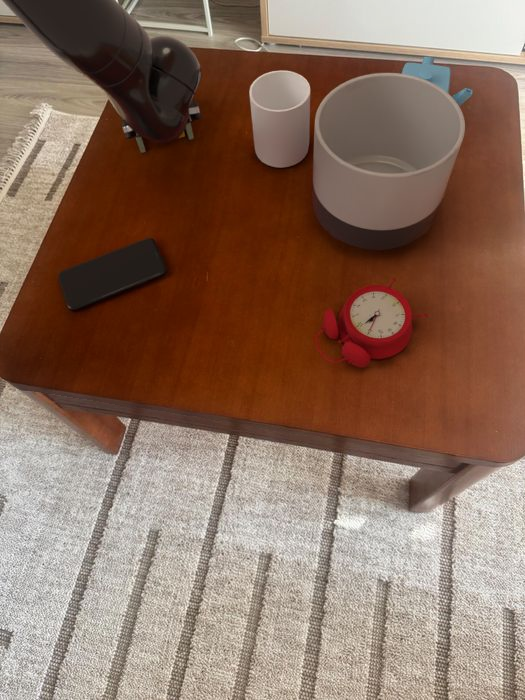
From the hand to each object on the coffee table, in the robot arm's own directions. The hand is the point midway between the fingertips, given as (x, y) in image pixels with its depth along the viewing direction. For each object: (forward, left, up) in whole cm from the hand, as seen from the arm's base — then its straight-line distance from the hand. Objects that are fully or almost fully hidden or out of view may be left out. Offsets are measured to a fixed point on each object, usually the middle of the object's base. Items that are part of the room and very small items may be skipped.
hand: (162, 126), depth 91 cm
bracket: (-2, +4, -4) cm, 6 cm away
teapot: (+44, +7, -4) cm, 45 cm away
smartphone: (-2, -29, -4) cm, 29 cm away
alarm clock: (+37, -35, -4) cm, 51 cm away
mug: (+21, +1, -4) cm, 21 cm away
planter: (+37, -13, -4) cm, 39 cm away
